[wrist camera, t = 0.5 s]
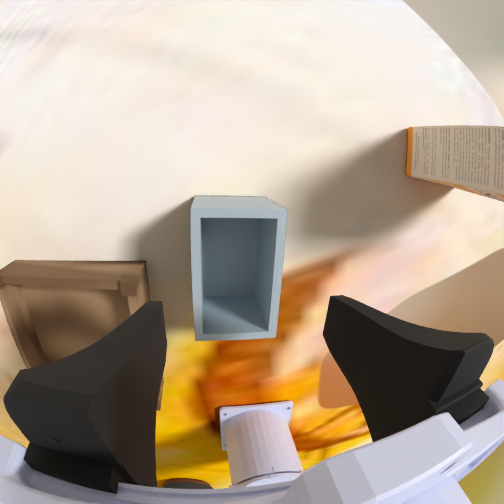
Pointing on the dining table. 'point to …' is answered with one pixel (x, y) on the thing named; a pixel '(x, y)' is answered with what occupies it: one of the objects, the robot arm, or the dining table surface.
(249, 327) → the grey crate
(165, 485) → the mug
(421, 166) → the supplement box
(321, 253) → the dining table surface
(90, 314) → the walnut crate
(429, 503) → the robot arm
